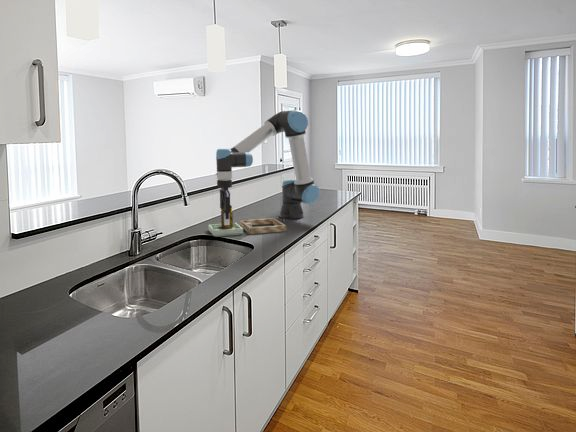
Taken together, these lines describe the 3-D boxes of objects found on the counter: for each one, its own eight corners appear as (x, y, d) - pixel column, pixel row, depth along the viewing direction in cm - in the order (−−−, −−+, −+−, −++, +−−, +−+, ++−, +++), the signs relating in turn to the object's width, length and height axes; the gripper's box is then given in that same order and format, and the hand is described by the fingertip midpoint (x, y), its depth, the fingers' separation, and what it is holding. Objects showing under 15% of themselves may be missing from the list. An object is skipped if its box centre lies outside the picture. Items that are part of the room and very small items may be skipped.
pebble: (249, 226, 226) (249, 222, 226) (252, 227, 224) (252, 223, 224) (244, 227, 224) (244, 223, 224) (247, 228, 222) (247, 224, 222)
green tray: (236, 228, 222) (235, 222, 221) (243, 234, 208) (243, 228, 208) (208, 230, 216) (208, 224, 216) (214, 236, 203) (213, 230, 202)
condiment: (235, 228, 211) (235, 205, 209) (220, 230, 207) (220, 207, 204) (229, 225, 217) (229, 203, 215) (215, 227, 213) (214, 205, 210)
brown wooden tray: (273, 223, 234) (273, 218, 234) (286, 230, 216) (286, 225, 215) (240, 225, 227) (240, 220, 227) (250, 233, 209) (249, 228, 208)
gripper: (213, 177, 214) (214, 220, 219) (221, 181, 197) (222, 228, 201) (227, 177, 217) (228, 219, 221) (236, 181, 199) (237, 227, 204)
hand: (225, 223), depth 211 cm, fingers closed on condiment, 6 cm apart
